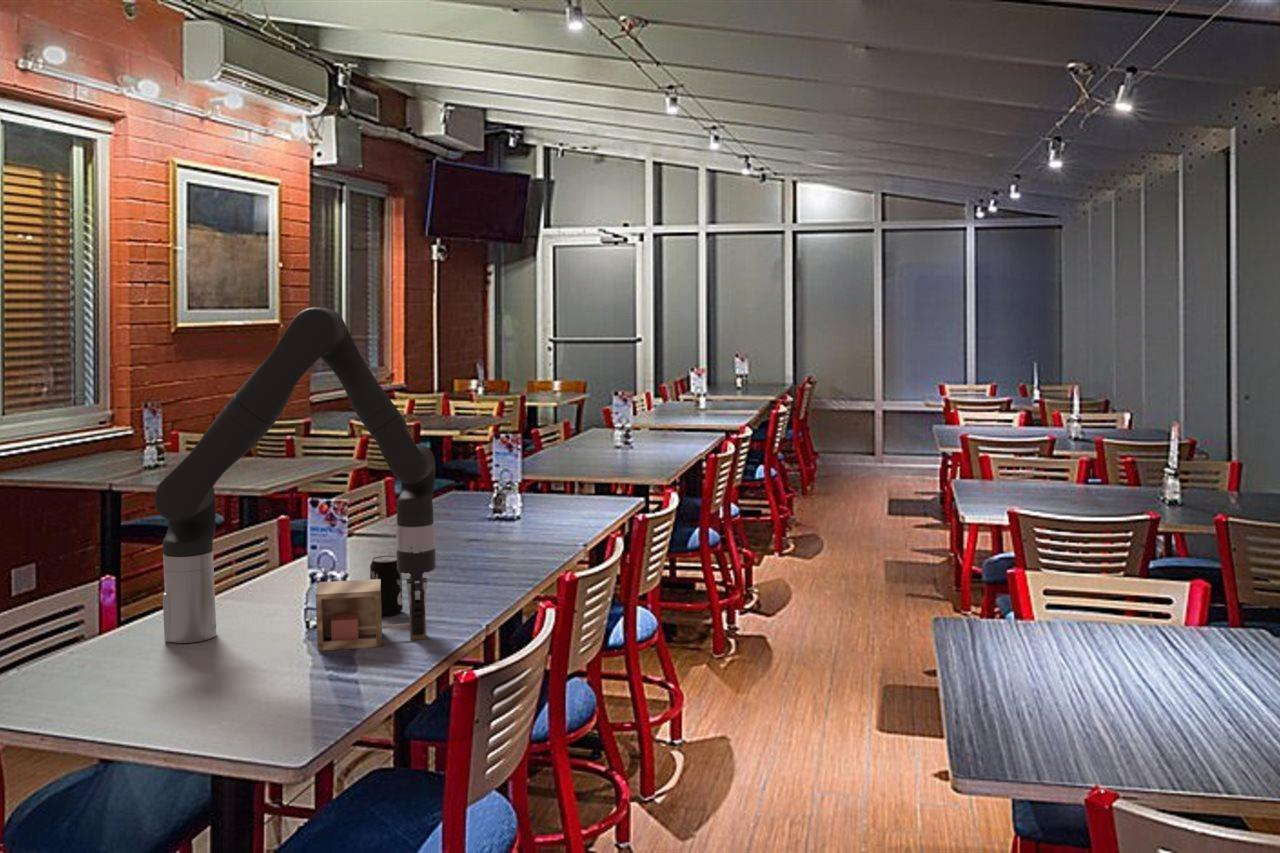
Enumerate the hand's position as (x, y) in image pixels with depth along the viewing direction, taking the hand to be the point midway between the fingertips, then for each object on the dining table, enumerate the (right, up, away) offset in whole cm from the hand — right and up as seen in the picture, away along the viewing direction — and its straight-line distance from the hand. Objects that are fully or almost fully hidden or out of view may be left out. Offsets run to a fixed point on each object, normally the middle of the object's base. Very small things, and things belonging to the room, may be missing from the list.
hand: (417, 631), depth 231 cm
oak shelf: (-13, -1, -3) cm, 13 cm away
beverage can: (-10, +1, +18) cm, 21 cm away
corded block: (-7, -1, -1) cm, 8 cm away
